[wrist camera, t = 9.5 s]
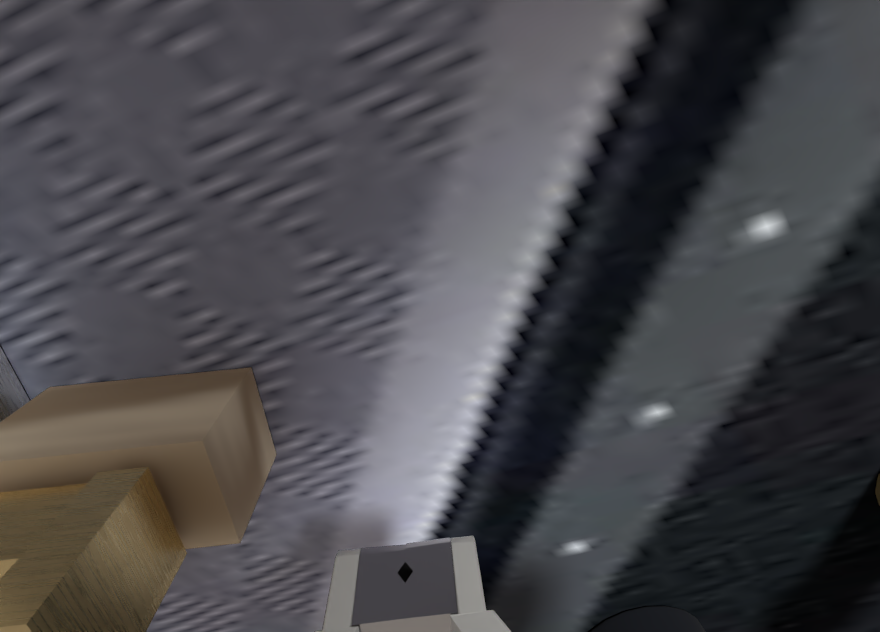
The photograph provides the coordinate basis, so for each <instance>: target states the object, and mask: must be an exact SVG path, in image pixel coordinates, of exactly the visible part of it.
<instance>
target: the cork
mask: <svg viewBox="0 0 880 632" xmlns="http://www.w3.org/2000/svg"><path fill="white" fill-rule="evenodd" d="M875 494H876V497H877V500H878V504H879V506H880V473H879V475H878V479H877V484H876V489H875Z"/></svg>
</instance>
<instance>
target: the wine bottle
mask: <svg viewBox="0 0 880 632" xmlns="http://www.w3.org/2000/svg"><path fill="white" fill-rule="evenodd" d="M590 632H705V630H704V629H703V627H702V625H701V624H700V622H699V621H698V619H697V618H696V617H694V616H693V615H691V614H689V613H688V612H686V611H685V610H682V609H677V608H673V607H668V606H646V607H641V608H637V609H632V610H628V611H624V612H622V613H620V614H618V615H615V616H613V617H611V618H608V619H606V620H605V621H603V622H602V623H601V624H599V625H598V626H597V627H595V628H594V629H592V630H591V631H590Z"/></svg>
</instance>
